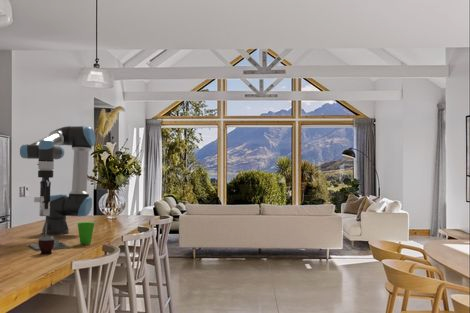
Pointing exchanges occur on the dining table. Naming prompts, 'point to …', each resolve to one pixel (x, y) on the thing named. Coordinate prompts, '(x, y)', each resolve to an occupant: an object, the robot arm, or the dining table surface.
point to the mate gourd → (46, 243)
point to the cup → (85, 232)
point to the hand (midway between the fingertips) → (44, 214)
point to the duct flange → (56, 246)
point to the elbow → (41, 204)
